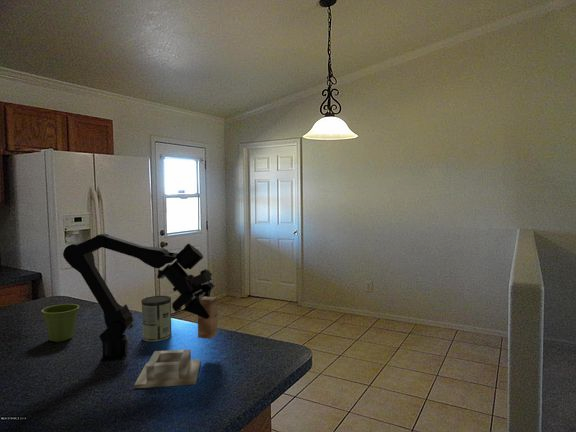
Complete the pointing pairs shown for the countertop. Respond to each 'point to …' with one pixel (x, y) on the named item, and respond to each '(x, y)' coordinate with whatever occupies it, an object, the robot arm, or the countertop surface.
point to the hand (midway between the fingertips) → (211, 315)
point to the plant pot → (60, 321)
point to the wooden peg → (208, 326)
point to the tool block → (169, 369)
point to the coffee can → (156, 318)
